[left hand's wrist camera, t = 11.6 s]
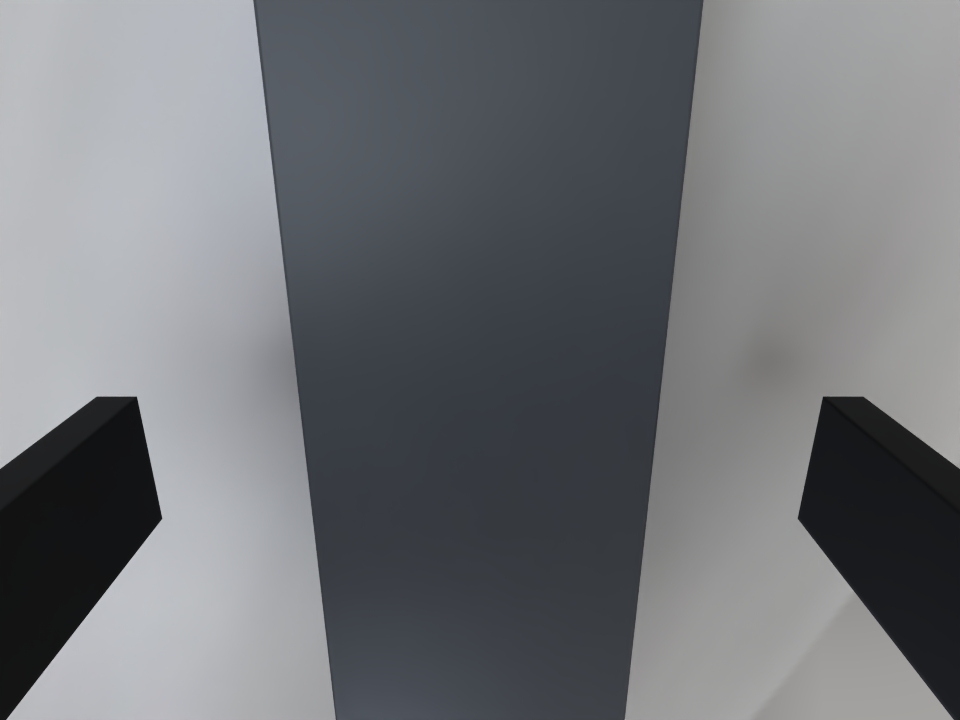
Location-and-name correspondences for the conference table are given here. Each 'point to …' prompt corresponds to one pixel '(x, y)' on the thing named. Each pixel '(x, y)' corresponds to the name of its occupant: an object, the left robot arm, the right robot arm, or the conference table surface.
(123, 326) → the conference table surface
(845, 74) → the conference table surface
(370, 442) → the beam
